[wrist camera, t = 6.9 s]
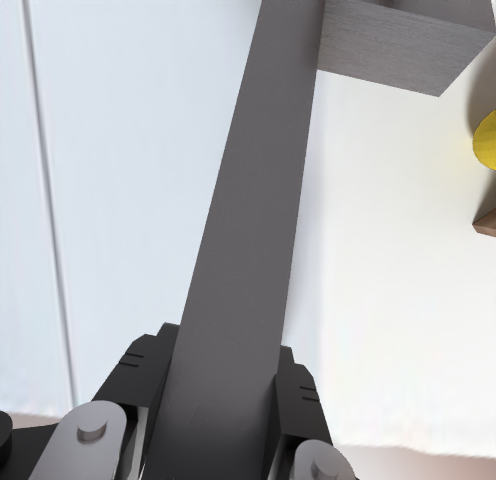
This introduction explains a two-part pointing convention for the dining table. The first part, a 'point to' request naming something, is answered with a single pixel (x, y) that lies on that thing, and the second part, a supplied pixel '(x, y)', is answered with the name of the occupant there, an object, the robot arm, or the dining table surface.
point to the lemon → (486, 141)
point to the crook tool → (280, 212)
